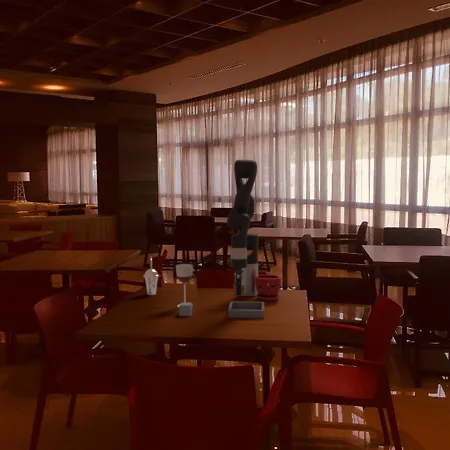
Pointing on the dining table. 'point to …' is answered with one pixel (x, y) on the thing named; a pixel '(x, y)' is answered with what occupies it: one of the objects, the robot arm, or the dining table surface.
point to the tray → (246, 310)
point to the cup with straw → (151, 280)
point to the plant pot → (268, 287)
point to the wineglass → (184, 275)
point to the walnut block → (241, 289)
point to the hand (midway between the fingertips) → (239, 293)
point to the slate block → (185, 309)
